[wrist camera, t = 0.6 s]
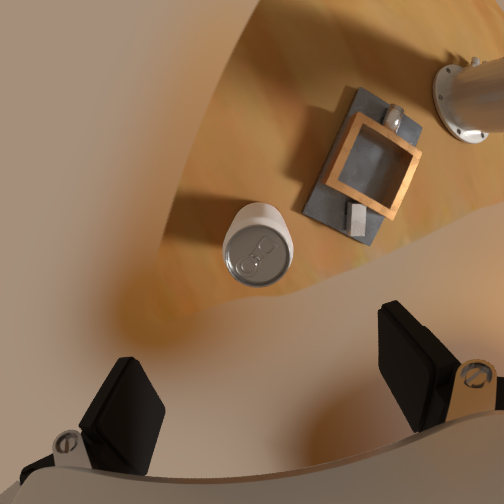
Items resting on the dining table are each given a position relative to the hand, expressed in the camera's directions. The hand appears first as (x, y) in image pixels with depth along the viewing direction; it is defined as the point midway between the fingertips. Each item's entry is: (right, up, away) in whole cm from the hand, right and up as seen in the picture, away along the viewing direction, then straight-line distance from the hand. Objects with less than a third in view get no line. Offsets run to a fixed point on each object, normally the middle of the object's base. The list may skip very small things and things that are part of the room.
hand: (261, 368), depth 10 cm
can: (+1, +7, +26) cm, 27 cm away
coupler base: (+14, +15, +23) cm, 31 cm away
